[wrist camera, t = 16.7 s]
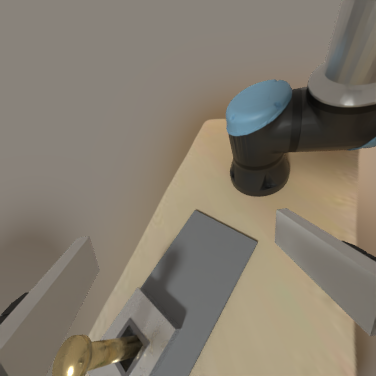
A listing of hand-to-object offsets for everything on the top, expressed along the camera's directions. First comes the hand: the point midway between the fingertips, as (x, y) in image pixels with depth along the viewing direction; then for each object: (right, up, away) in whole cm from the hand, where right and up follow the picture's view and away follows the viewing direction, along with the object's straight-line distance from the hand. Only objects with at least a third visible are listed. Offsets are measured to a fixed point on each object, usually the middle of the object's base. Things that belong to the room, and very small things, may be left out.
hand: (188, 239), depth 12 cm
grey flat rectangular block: (-10, -28, +23) cm, 38 cm away
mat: (-2, -21, +26) cm, 33 cm away
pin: (-10, -28, +23) cm, 38 cm away
